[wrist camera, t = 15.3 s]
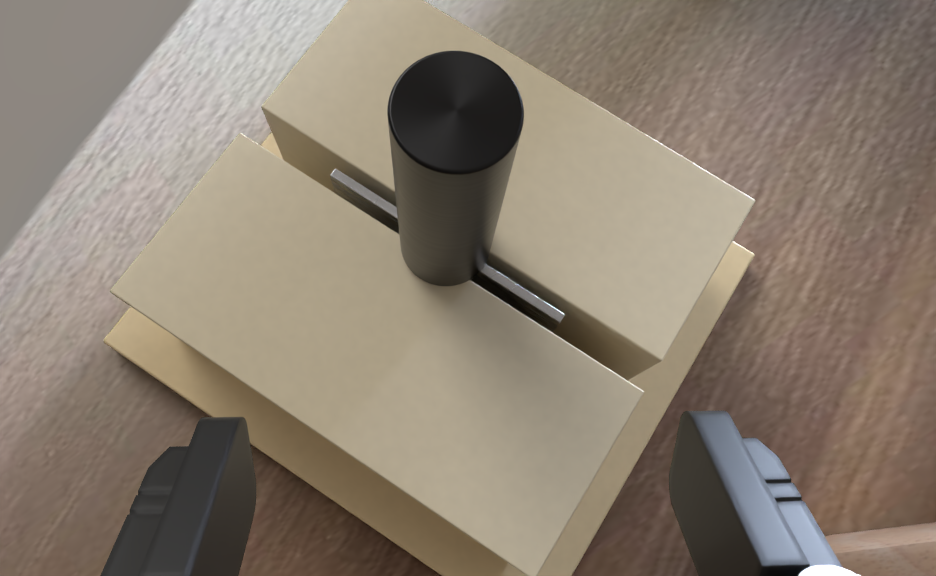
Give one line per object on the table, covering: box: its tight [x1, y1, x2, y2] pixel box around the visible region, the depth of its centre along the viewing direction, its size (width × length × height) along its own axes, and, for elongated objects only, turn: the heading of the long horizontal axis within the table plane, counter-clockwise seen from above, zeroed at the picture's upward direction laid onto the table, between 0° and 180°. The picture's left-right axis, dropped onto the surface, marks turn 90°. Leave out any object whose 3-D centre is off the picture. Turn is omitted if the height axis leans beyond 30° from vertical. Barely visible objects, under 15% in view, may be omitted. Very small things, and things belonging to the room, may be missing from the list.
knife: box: [330, 51, 565, 333], centre depth 21 cm, size 8×3×14 cm, turn 57°
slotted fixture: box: [104, 0, 755, 576], centre depth 26 cm, size 18×16×7 cm
